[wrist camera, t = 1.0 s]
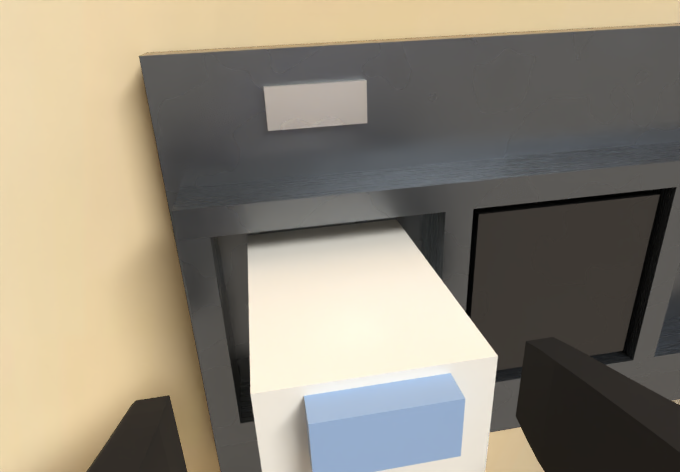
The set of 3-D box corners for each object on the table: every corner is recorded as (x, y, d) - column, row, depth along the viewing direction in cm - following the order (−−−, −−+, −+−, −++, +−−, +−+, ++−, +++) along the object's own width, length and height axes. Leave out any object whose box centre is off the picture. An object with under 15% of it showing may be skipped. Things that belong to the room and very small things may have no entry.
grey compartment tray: (858, 13, 15) (975, 13, 12) (732, 369, 20) (796, 416, 18) (146, 52, 12) (122, 62, 9) (223, 454, 17) (220, 524, 15)
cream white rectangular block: (396, 219, 14) (515, 379, 8) (395, 340, 15) (493, 550, 9) (247, 235, 13) (251, 422, 7) (263, 359, 15) (277, 596, 9)
